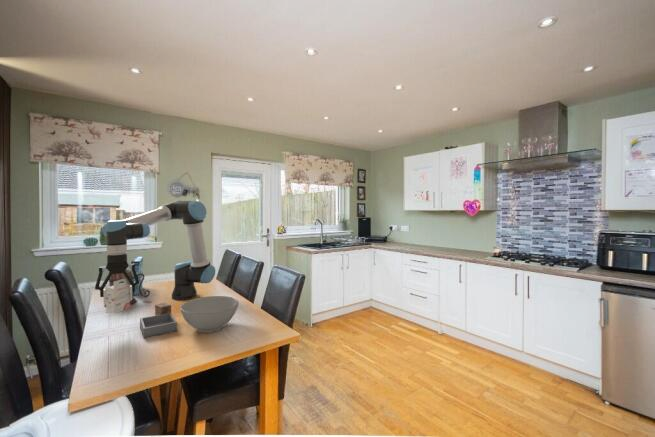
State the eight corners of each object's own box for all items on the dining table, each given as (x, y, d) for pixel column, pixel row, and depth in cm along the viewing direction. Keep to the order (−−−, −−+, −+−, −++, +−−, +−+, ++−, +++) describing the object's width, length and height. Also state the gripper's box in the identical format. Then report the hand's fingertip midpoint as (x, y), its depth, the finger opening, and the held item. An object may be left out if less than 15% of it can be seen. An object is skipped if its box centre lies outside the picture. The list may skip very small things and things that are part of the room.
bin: (170, 321, 153) (170, 312, 153) (176, 331, 141) (176, 322, 141) (140, 327, 145) (140, 318, 145) (143, 338, 133) (143, 328, 133)
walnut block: (165, 316, 160) (165, 302, 159) (171, 320, 155) (171, 305, 155) (155, 319, 156) (155, 304, 155) (161, 322, 151) (161, 307, 151)
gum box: (135, 288, 214) (134, 257, 213) (143, 287, 216) (143, 256, 216) (130, 295, 197) (130, 261, 196) (139, 294, 199) (139, 261, 198)
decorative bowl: (181, 321, 153) (182, 298, 153) (235, 315, 164) (235, 293, 163) (178, 343, 128) (178, 316, 128) (241, 334, 139) (241, 309, 139)
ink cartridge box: (122, 306, 142) (121, 276, 141) (130, 307, 141) (130, 277, 140) (105, 313, 133) (104, 281, 133) (114, 314, 132) (113, 281, 132)
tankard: (101, 309, 168) (101, 275, 168) (106, 301, 183) (106, 269, 182) (149, 304, 180) (149, 271, 179) (150, 296, 195) (150, 266, 194)
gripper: (86, 257, 126) (87, 308, 127) (145, 252, 139) (146, 299, 141) (86, 254, 132) (88, 303, 133) (144, 250, 145) (144, 295, 147)
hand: (118, 301), depth 137 cm, fingers closed on ink cartridge box, 9 cm apart
